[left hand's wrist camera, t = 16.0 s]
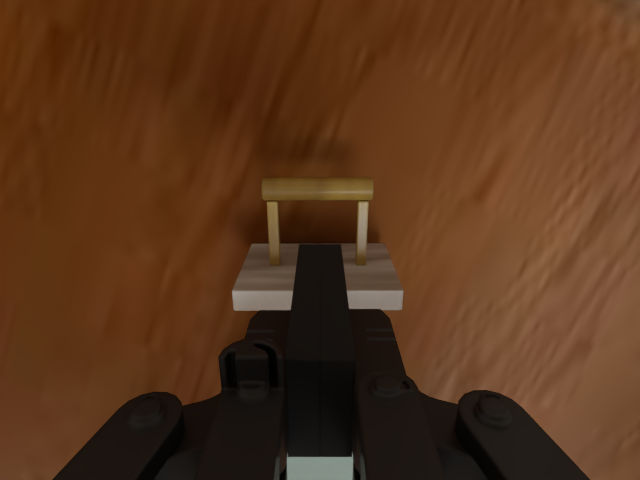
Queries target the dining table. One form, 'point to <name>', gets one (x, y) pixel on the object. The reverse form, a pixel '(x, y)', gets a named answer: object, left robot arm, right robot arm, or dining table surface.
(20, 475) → the dining table surface
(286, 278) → the drawer
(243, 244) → the dining table surface
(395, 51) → the dining table surface
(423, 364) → the dining table surface
